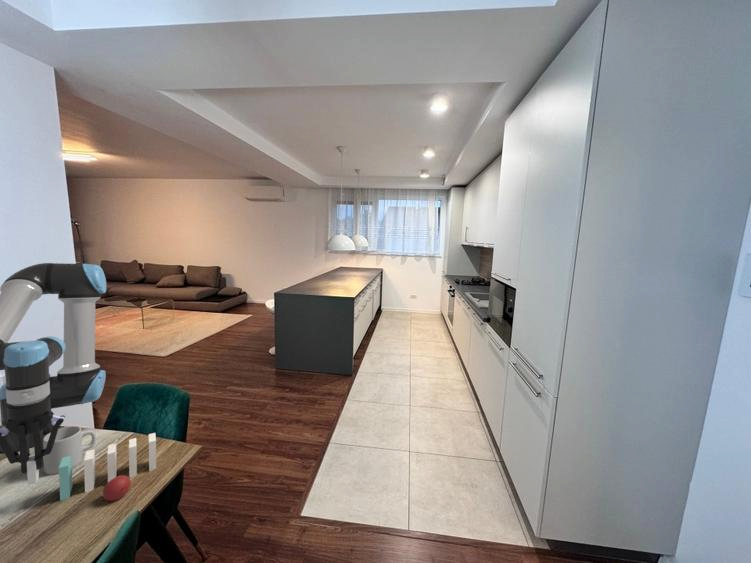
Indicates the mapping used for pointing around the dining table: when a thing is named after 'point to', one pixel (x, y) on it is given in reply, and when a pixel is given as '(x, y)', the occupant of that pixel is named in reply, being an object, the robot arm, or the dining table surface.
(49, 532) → the dining table surface
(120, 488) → the fruit
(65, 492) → the domino
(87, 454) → the domino
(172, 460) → the dining table surface
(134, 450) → the domino
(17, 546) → the dining table surface
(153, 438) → the domino
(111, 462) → the domino
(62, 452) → the mug
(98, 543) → the dining table surface
